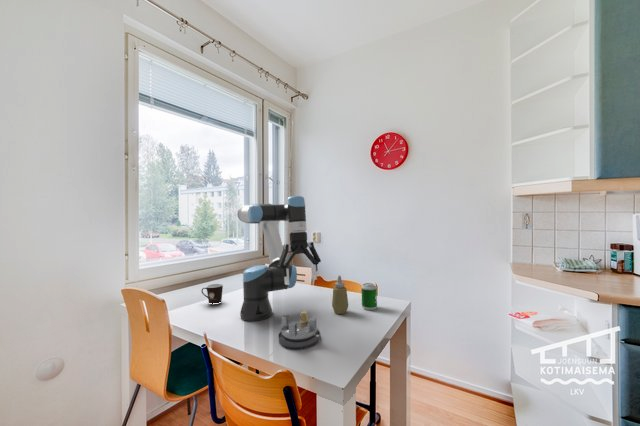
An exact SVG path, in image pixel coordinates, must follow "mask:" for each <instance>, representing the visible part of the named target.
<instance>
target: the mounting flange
mask: <svg viewBox="0 0 640 426" xmlns="http://www.w3.org/2000/svg"><path fill="white" fill-rule="evenodd" d="M320 341H321V333H320V330H319V329H318V328H317V334H316V335H315V337H313V338H311V339H309V340H306V341H300V342H293V341H288V340H286V339H284V338H283V337H282V330H281V331H280V332H279V333H278V343H279V345H280V346H281V347H282V348H284V347H285V348H284V349H287V350H292V351H293V350H295V351H298V350H299V351H300V350H305V349H306V350H307V349H309V348H312V347H314V346H316V345H317V344H318V343H319V342H320Z"/></svg>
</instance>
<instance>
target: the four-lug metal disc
mask: <svg viewBox="0 0 640 426" xmlns="http://www.w3.org/2000/svg"><path fill="white" fill-rule="evenodd" d="M317 329H318V327H317V318H316V317H311V318H310V319H309V312H308V311H305V310H302V311H301V312H300V320H295V321H290V316H289V315H288V314H287V315H286V314H284V315H283V316H282V317H281V331H282V337H283V338H284V339H286V340H288V341H293V342H300V341H306V340H309V339H311V338H313V337H315V335H316V334H317Z"/></svg>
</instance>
